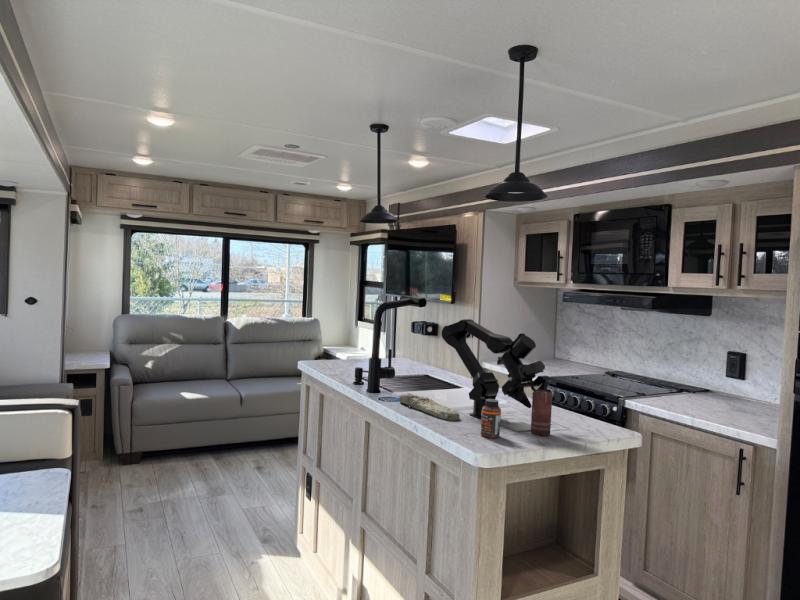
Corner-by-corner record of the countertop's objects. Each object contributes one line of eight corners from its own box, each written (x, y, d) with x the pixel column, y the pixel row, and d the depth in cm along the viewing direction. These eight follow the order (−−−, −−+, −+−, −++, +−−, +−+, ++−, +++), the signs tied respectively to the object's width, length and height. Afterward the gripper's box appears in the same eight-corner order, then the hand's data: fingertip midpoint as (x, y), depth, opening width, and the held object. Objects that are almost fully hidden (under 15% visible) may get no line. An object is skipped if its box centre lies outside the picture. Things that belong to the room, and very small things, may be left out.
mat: (499, 424, 193) (499, 423, 193) (522, 422, 198) (523, 421, 198) (517, 432, 184) (517, 431, 184) (542, 430, 189) (542, 428, 189)
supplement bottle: (476, 436, 177) (478, 399, 177) (485, 432, 182) (487, 397, 182) (494, 439, 174) (496, 402, 174) (502, 436, 179) (504, 400, 179)
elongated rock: (443, 426, 194) (466, 425, 199) (445, 411, 194) (468, 410, 199) (391, 400, 224) (412, 400, 229) (392, 387, 223) (413, 387, 228)
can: (537, 437, 180) (539, 392, 179) (527, 431, 186) (529, 388, 185) (554, 436, 181) (556, 392, 181) (543, 431, 187) (546, 388, 187)
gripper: (510, 353, 182) (535, 393, 174) (547, 351, 193) (573, 389, 185) (490, 374, 189) (514, 414, 180) (528, 371, 200) (552, 409, 191)
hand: (539, 406), depth 184 cm, fingers open, 9 cm apart
